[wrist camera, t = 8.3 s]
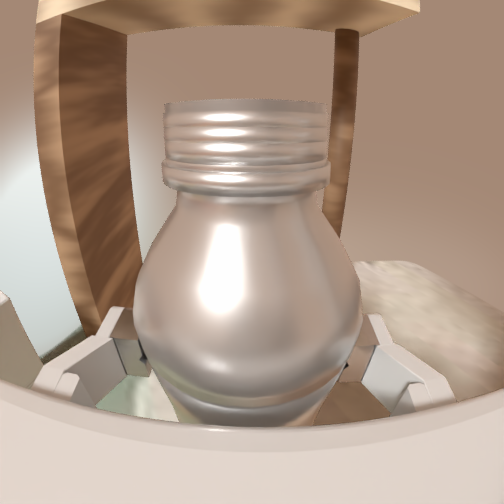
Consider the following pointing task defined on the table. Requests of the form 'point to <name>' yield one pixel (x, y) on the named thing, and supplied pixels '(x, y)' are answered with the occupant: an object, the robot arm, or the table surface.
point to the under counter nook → (116, 130)
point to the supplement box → (16, 348)
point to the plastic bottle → (247, 267)
